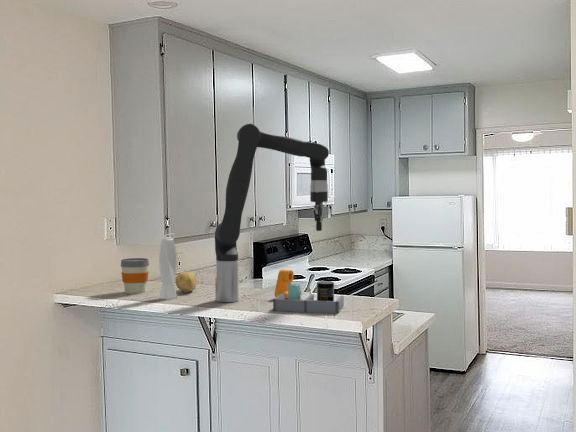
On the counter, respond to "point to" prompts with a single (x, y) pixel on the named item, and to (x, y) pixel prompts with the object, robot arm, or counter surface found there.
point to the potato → (186, 281)
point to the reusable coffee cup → (134, 275)
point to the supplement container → (325, 291)
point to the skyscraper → (168, 267)
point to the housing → (305, 302)
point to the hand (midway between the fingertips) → (318, 230)
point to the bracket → (283, 282)
